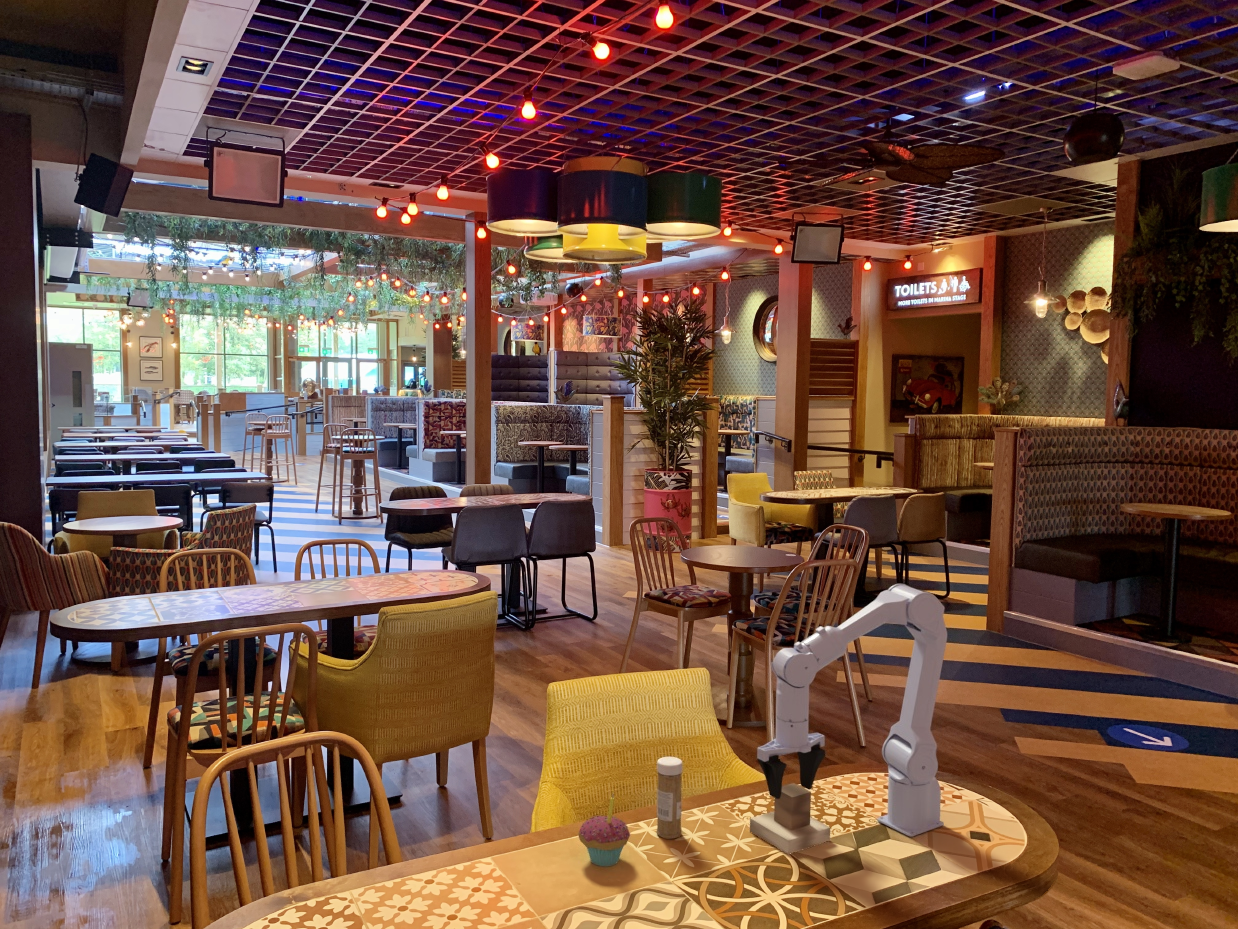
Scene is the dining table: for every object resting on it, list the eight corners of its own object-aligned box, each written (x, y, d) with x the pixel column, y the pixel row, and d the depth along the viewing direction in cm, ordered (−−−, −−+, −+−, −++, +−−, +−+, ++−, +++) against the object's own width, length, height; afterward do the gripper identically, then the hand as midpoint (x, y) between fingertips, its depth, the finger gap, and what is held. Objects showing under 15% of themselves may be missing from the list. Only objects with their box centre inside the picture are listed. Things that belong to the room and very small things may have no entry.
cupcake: (639, 860, 153) (640, 790, 152) (604, 878, 147) (605, 805, 146) (603, 843, 159) (603, 776, 158) (567, 860, 152) (568, 790, 152)
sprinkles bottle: (686, 836, 162) (687, 762, 161) (666, 842, 159) (667, 767, 159) (671, 826, 166) (672, 754, 165) (650, 832, 163) (652, 758, 162)
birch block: (790, 822, 169) (791, 806, 169) (829, 844, 161) (830, 827, 161) (749, 834, 164) (750, 818, 164) (787, 857, 155) (788, 840, 155)
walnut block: (792, 814, 165) (793, 782, 165) (810, 824, 161) (811, 791, 161) (773, 820, 163) (774, 788, 162) (791, 830, 159) (792, 797, 159)
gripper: (777, 731, 154) (775, 809, 155) (837, 716, 162) (836, 791, 162) (749, 719, 160) (748, 794, 160) (809, 705, 168) (807, 777, 168)
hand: (790, 792), depth 162 cm, fingers open, 7 cm apart
